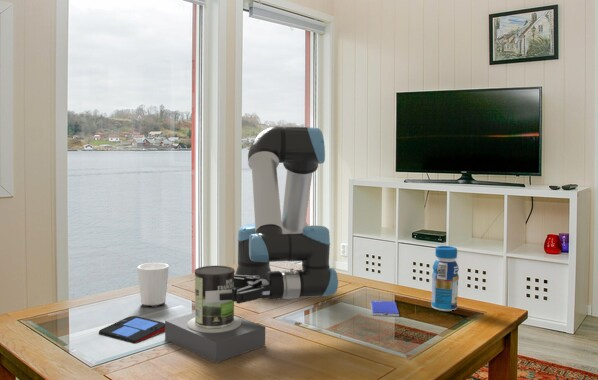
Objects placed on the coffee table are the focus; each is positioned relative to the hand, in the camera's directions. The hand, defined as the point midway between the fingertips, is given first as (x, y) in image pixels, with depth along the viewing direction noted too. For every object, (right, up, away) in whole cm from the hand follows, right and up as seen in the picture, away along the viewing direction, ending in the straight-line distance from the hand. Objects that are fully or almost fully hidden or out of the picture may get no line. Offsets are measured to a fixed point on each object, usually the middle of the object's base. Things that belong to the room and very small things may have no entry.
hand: (202, 289), depth 136 cm
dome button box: (+3, -14, +2) cm, 15 cm away
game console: (-21, -14, +9) cm, 27 cm away
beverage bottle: (+73, -13, +35) cm, 82 cm away
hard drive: (+53, -13, +32) cm, 63 cm away
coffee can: (+3, -9, +2) cm, 10 cm away
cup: (-22, -11, +34) cm, 42 cm away
